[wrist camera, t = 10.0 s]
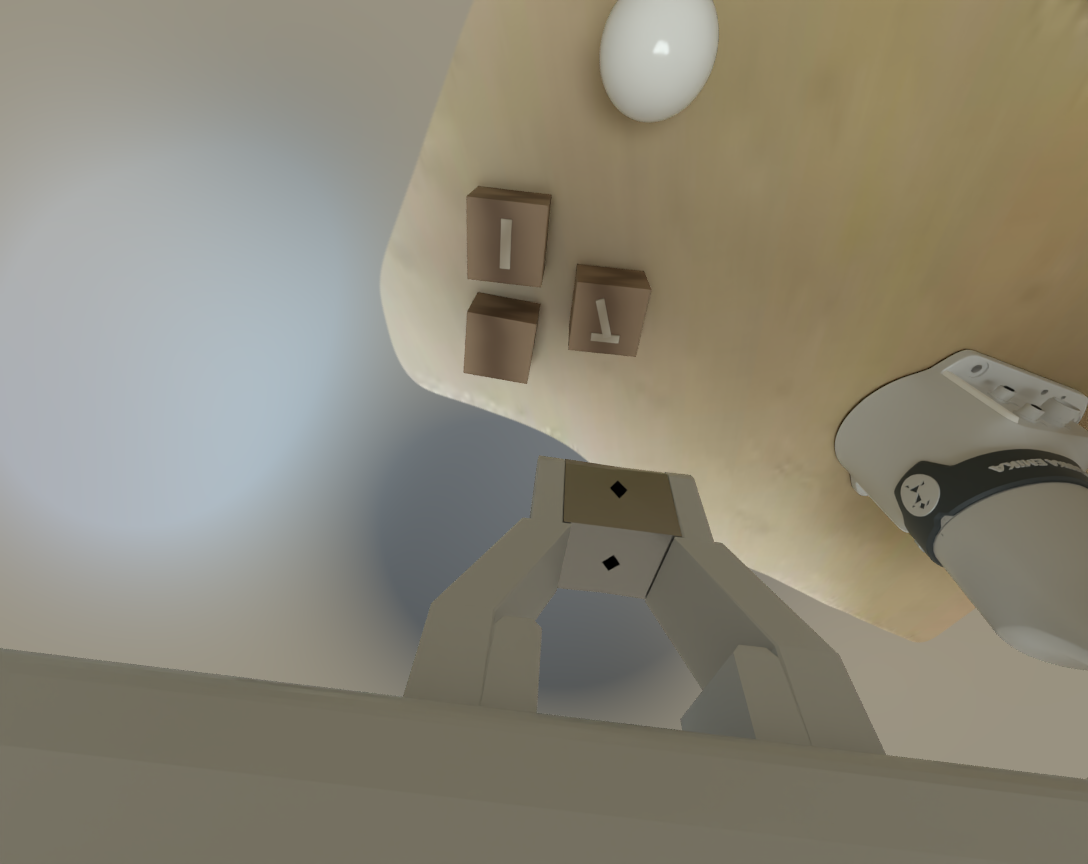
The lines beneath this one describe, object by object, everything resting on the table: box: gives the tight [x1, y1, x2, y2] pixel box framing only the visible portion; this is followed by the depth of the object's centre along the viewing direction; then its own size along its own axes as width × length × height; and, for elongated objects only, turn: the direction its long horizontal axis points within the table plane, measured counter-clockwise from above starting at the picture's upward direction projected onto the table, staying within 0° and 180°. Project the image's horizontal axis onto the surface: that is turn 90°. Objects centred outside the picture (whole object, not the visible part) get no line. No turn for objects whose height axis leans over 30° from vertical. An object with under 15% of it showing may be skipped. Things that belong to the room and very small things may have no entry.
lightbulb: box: [599, 0, 719, 123], centre depth 26 cm, size 6×6×11 cm
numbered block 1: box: [467, 186, 551, 287], centre depth 35 cm, size 6×6×5 cm
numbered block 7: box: [568, 264, 651, 357], centre depth 39 cm, size 6×6×5 cm
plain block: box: [464, 292, 541, 384], centre depth 41 cm, size 6×6×5 cm
